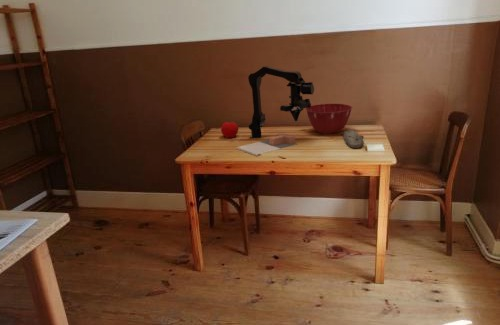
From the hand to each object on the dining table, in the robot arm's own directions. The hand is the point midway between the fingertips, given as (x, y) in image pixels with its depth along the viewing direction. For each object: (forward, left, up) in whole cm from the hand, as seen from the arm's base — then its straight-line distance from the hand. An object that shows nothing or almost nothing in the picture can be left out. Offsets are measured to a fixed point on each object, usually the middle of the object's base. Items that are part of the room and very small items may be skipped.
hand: (296, 121), depth 225 cm
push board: (-1, -20, -12) cm, 24 cm away
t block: (0, -12, -11) cm, 16 cm away
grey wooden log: (+23, +23, -12) cm, 35 cm away
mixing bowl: (-3, +29, -12) cm, 32 cm away
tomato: (-38, -23, -12) cm, 46 cm away
